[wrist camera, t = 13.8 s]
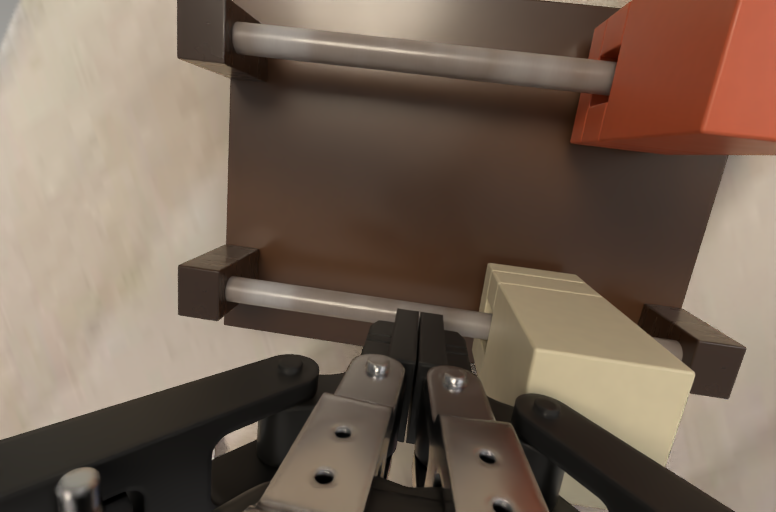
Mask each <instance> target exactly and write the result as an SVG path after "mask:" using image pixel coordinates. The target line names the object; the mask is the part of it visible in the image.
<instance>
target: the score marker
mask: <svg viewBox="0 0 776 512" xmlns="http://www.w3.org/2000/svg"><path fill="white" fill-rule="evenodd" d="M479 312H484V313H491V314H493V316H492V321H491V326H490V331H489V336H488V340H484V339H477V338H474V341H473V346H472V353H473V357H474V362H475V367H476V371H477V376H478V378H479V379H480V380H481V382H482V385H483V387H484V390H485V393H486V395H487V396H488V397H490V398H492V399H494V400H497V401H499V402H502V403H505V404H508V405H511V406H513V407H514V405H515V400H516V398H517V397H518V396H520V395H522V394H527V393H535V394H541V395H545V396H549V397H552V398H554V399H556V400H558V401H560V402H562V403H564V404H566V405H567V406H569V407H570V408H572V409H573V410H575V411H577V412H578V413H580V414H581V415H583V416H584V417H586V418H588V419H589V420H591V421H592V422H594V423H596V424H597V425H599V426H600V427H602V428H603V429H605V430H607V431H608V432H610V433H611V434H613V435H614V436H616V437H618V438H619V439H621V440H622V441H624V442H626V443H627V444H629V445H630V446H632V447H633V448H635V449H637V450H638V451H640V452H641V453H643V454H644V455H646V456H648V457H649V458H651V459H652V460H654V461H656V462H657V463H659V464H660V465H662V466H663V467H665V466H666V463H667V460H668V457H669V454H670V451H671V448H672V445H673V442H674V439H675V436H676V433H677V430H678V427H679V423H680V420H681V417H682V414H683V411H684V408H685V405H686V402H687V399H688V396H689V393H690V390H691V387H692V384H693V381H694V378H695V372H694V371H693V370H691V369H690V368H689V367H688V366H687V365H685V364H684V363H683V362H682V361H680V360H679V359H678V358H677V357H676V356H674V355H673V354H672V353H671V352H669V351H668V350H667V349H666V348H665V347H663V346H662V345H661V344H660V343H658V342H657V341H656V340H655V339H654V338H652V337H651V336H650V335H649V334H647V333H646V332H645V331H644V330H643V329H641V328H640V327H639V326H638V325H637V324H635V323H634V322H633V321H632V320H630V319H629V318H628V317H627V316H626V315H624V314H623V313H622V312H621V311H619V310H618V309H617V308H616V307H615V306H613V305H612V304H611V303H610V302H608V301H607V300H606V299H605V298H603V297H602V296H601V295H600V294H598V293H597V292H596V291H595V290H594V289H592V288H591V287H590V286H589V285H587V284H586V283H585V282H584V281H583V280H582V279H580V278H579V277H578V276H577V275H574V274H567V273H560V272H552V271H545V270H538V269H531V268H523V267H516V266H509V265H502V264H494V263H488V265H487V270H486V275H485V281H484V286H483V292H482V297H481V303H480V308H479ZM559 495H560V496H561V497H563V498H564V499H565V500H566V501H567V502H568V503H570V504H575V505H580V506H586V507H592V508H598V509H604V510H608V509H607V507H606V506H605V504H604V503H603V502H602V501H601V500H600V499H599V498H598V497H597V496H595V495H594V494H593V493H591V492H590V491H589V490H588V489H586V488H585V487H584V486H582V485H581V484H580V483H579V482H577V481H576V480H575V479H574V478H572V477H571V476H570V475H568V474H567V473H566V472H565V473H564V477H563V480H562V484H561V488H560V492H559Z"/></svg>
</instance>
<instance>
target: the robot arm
mask: <svg viewBox="0 0 776 512" xmlns="http://www.w3.org/2000/svg"><path fill="white" fill-rule="evenodd" d="M418 322H419V326H418ZM408 411H409V413H408ZM407 418H408V425H407V438H406V443H411V444H415V450H414V456H413V463H412V485H413V487H405V486H402V485H400V484H397V483H395V482H392V481H389V480H388V476H389V472H390V467H391V461H392V455H393V453H394V452H395V450H396V446H397V441H399V442H404V437H405V431H406V424H407ZM257 421H258V433H257V440H255V441H253V442H250V443H248V444H246V445H244V446H242V447H239V448H237V449H235V450H233V451H230V452H228V453H226V454H224V455H222V456H219V457H217V458H215V459H213V460H212V453H213V450H214V448H215V446H216V444H217V443H218V442H219V441H220V440H221V439H222V438H223V437H224V436H225V435H227V434H229V433H231V432H233V431H236V430H238V429H240V428H243V427H245V426H248V425H250V424H252V423H255V422H257ZM565 472H566V473H567V474H568V475H570V476H571V477H572V478H574V479H575V480H576V481H577V482H579V483H580V484H581V485H582V486H584V487H585V488H586V489H588V490H589V491H590V492H591V493H593V494H594V495H595V496H597V497H598V498H599V499H600V500H601V501H602V502H603V503H604V504H605V506H606V507H607V509H608V511H609V512H734V511H733V510H731V509H730V508H728V507H727V506H725V505H723V504H722V503H720V502H719V501H717V500H716V499H714V498H712V497H711V496H709V495H708V494H706V493H704V492H703V491H701V490H700V489H698V488H697V487H695V486H693V485H692V484H690V483H689V482H687V481H686V480H684V479H682V478H681V477H679V476H678V475H676V474H674V473H673V472H671V471H670V470H668V469H667V468H665V467H663V466H662V465H660V464H659V463H657V462H656V461H654V460H652V459H651V458H649V457H648V456H646V455H644V454H643V453H641V452H640V451H638V450H637V449H635V448H633V447H632V446H630V445H629V444H627V443H626V442H624V441H622V440H621V439H619V438H618V437H616V436H614V435H613V434H611V433H610V432H608V431H607V430H605V429H603V428H602V427H600V426H599V425H597V424H596V423H594V422H592V421H591V420H589V419H588V418H586V417H584V416H583V415H581V414H580V413H578V412H577V411H575V410H573V409H572V408H570V407H569V406H567V405H566V404H564V403H562V402H560V401H558V400H556V399H554V398H552V397H549V396H545V395H541V394H535V393H527V394H522V395H520V396H518V397H517V398H516V400H515V405H514V407H513V406H511V405H508V404H505V403H502V402H499V401H497V400H494V399H492V398H490V397H488V396H487V395H486V393H485V390H484V387H483V385H482V382H481V380H480V379H479V378H478V377H477V376H476V375H475V374H473V373H472V371H471V366H470V361H469V356H468V351H467V345H466V340H465V339H464V338H463V337H462V336H461V335H460V334H459V333H458V332H455V331H448V330H444V321H443V315H440V314H433V313H427V312H421V313H420V319H419V311H413V310H406V309H400V308H397V313H396V317H395V322H389V321H383V320H378V321H377V322H375V323H374V324H372V325H371V326H370V329H369V332H368V335H367V338H366V341H365V344H364V347H363V350H362V353H361V355H360V356H358V357H356V358H354V359H353V360H352V361H351V363H350V365H349V367H348V369H347V371H346V372H344V373H340V374H331V375H319V366H318V364H317V363H316V362H315V361H314V360H312V359H310V358H308V357H305V356H301V355H294V354H285V355H278V356H274V357H271V358H267V359H264V360H261V361H258V362H254V363H251V364H248V365H245V366H241V367H238V368H235V369H232V370H228V371H225V372H222V373H218V374H215V375H212V376H209V377H205V378H202V379H199V380H196V381H192V382H189V383H186V384H183V385H179V386H176V387H173V388H169V389H166V390H163V391H160V392H156V393H153V394H150V395H147V396H143V397H140V398H137V399H134V400H130V401H127V402H124V403H121V404H117V405H114V406H111V407H107V408H104V409H101V410H98V411H94V412H91V413H88V414H85V415H81V416H78V417H75V418H72V419H68V420H65V421H62V422H58V423H55V424H52V425H49V426H45V427H42V428H39V429H36V430H32V431H29V432H26V433H23V434H19V435H16V436H13V437H9V438H6V439H3V440H0V512H579V511H578V510H577V509H576V508H574V507H573V506H572V505H571V504H570V503H568V502H567V501H566V500H565V499H564V498H563V497H561V496H560V495H559V492H560V488H561V484H562V480H563V477H564V473H565Z"/></svg>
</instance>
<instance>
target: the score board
mask: <svg viewBox="0 0 776 512" xmlns="http://www.w3.org/2000/svg"><path fill="white" fill-rule="evenodd" d="M620 9H621V8H613V7H603V6H593V5H583V4H572V3H562V2H552V1H542V0H233V1H232V0H177V57H178V58H179V59H181V60H183V61H186V62H189V63H191V64H194V65H197V66H199V67H202V68H204V69H207V70H210V71H212V72H215V73H217V74H220V75H223V76H225V77H228V78H231V84H230V121H229V158H228V195H227V232H226V245H223V246H221V247H219V248H216V249H214V250H212V251H210V252H207V253H205V254H203V255H201V256H198V257H196V258H194V259H192V260H189V261H187V262H185V263H183V264H180V265H179V266H178V315H181V316H187V317H194V318H200V319H207V320H213V321H219V320H220V319H221V318H222V317H224V325H228V326H235V327H241V328H248V329H255V330H261V331H268V332H274V333H281V334H287V335H294V336H300V337H307V338H313V339H320V340H326V341H333V342H340V343H346V344H353V345H359V346H364V344H365V341H366V338H367V335H368V332H369V329H370V326H371V325H372V324H374V323H375V322H377V321H378V320H383V321H389V322H395V317H396V313H397V308H400V309H406V310H413V311H419V319H420V313H421V312H427V313H433V314H440V315H443V321H444V330H448V331H455V332H458V333H459V334H460V335H461V336H462V337H463V338H464V339H465V340H466V345H467V351H468V356H469V361H470V363H475V362H474V357H473V353H472V346H473V341H474V338H477V339H484V340H488V336H489V331H490V326H491V321H492V316H493V314H491V313H484V312H479V308H480V303H481V297H482V292H483V286H484V281H485V275H486V270H487V265H488V263H494V264H502V265H509V266H516V267H523V268H531V269H538V270H545V271H552V272H560V273H567V274H574V275H577V276H578V277H579V278H580V279H582V280H583V281H584V282H585V283H586V284H587V285H589V286H590V287H591V288H592V289H594V290H595V291H596V292H597V293H598V294H600V295H601V296H602V297H603V298H605V299H606V300H607V301H608V302H610V303H611V304H612V305H613V306H615V307H616V308H617V309H618V310H619V311H621V312H622V313H623V314H624V315H626V316H627V317H628V318H629V319H630V320H632V321H633V322H634V323H635V324H637V325H638V326H639V327H640V328H641V329H643V330H644V331H645V332H646V333H647V334H649V335H650V336H651V337H652V338H654V339H655V340H656V341H657V342H658V343H660V344H661V345H662V346H663V347H665V348H666V349H667V350H668V351H669V352H671V353H672V354H673V355H674V356H676V357H677V358H678V359H679V360H680V361H682V362H683V363H684V364H685V365H687V366H688V367H689V368H690V369H691V370H693V371H694V372H695V378H694V381H693V384H692V387H691V390H690V393H691V394H697V395H704V396H710V397H717V398H724V399H728V398H729V397H730V394H731V391H732V388H733V385H734V383H735V380H736V377H737V374H738V371H739V369H740V366H741V363H742V360H743V357H744V354H745V352H746V347H744V346H743V345H741V344H740V343H738V342H736V341H735V340H733V339H731V338H730V337H728V336H726V335H725V334H723V333H721V332H720V331H718V330H717V329H715V328H713V327H712V326H710V325H708V324H707V323H705V322H703V321H702V320H700V319H698V318H697V317H695V316H694V315H692V314H690V313H689V312H687V311H685V310H684V309H682V304H683V301H684V298H685V295H686V291H687V288H688V285H689V282H690V278H691V275H692V272H693V269H694V265H695V262H696V259H697V256H698V252H699V249H700V246H701V243H702V239H703V236H704V233H705V230H706V226H707V223H708V220H709V217H710V213H711V210H712V207H713V204H714V200H715V197H716V194H717V191H718V187H719V184H720V181H721V178H722V174H723V171H724V168H725V164H726V161H727V158H728V155H663V154H654V153H646V152H637V151H629V150H621V149H612V148H604V147H595V146H587V145H579V144H571V143H570V140H571V136H572V131H573V126H574V122H575V117H576V113H577V108H578V103H579V99H580V94H581V93H589V94H598V95H606V96H609V95H610V91H611V87H612V82H613V78H614V74H615V70H616V65H617V62H612V61H603V60H594V59H588V57H589V53H590V48H591V44H592V39H593V34H594V30H595V28H596V27H598V26H599V25H600V24H602V23H603V22H604V21H606V20H607V19H609V17H611V16H612V15H613V14H614V13H616V12H617V11H618V10H620ZM418 326H419V322H418Z"/></svg>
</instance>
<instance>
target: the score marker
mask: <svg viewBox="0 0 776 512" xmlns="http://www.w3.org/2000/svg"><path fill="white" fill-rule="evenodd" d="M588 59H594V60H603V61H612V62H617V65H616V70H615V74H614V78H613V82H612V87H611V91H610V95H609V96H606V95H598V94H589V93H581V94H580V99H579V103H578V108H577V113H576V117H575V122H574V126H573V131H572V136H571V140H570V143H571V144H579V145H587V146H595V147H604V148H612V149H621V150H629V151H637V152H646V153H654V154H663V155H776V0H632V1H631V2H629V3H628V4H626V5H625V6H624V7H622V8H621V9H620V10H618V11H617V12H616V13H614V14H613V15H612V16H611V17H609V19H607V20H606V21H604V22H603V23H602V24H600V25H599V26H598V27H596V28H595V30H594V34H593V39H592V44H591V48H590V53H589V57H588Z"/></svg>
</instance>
